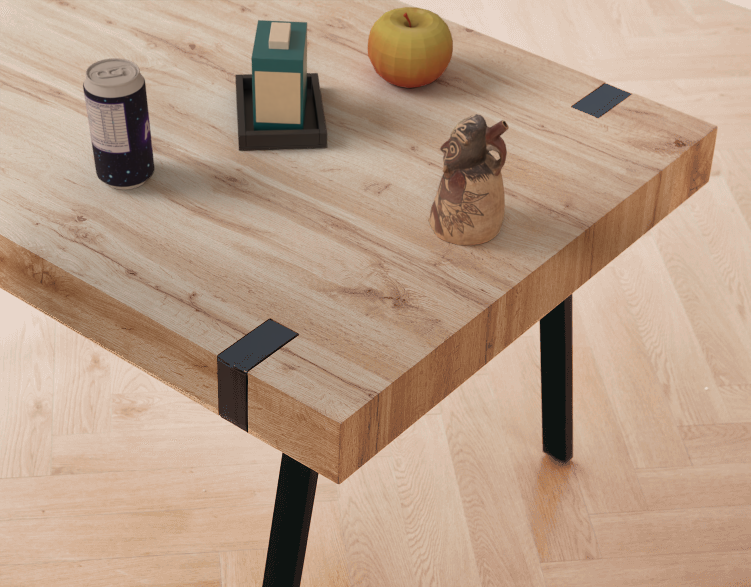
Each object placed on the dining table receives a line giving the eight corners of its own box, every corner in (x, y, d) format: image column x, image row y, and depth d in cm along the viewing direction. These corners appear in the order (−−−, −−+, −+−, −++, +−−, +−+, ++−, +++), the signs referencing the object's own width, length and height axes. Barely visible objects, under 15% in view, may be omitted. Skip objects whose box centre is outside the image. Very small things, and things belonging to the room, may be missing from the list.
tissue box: (306, 95, 120) (307, 14, 113) (303, 136, 114) (303, 52, 107) (260, 93, 120) (257, 12, 113) (253, 134, 114) (250, 50, 107)
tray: (317, 87, 122) (317, 72, 121) (326, 148, 113) (327, 132, 112) (235, 89, 121) (235, 74, 120) (238, 150, 112) (238, 135, 111)
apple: (350, 66, 126) (352, 3, 120) (420, 48, 130) (425, -14, 124) (394, 106, 120) (398, 41, 114) (466, 86, 124) (473, 22, 118)
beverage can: (160, 188, 106) (149, 82, 98) (102, 198, 105) (86, 91, 97) (148, 157, 110) (137, 52, 102) (92, 166, 109) (76, 60, 101)
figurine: (440, 195, 108) (451, 90, 100) (509, 210, 106) (526, 106, 98) (420, 236, 103) (430, 130, 95) (492, 253, 101) (509, 147, 93)
